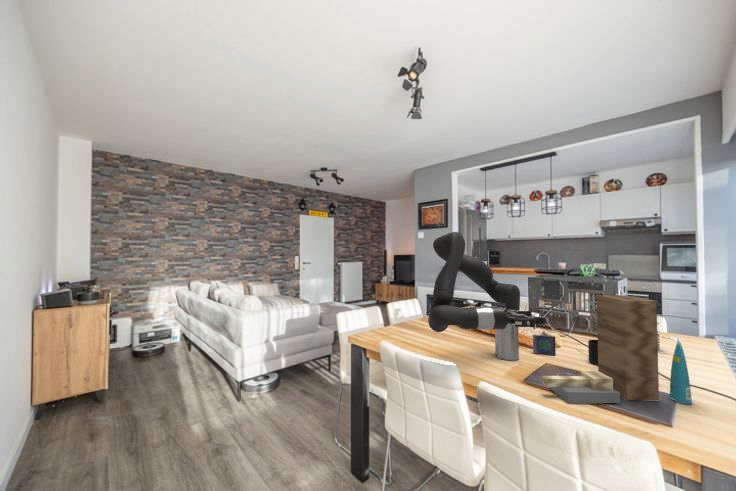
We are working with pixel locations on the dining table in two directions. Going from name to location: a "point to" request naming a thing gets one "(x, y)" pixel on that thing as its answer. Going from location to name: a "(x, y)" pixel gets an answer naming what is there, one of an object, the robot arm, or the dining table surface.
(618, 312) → the stand
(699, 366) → the dining table surface
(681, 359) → the tube
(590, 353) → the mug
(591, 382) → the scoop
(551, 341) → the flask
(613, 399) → the board
